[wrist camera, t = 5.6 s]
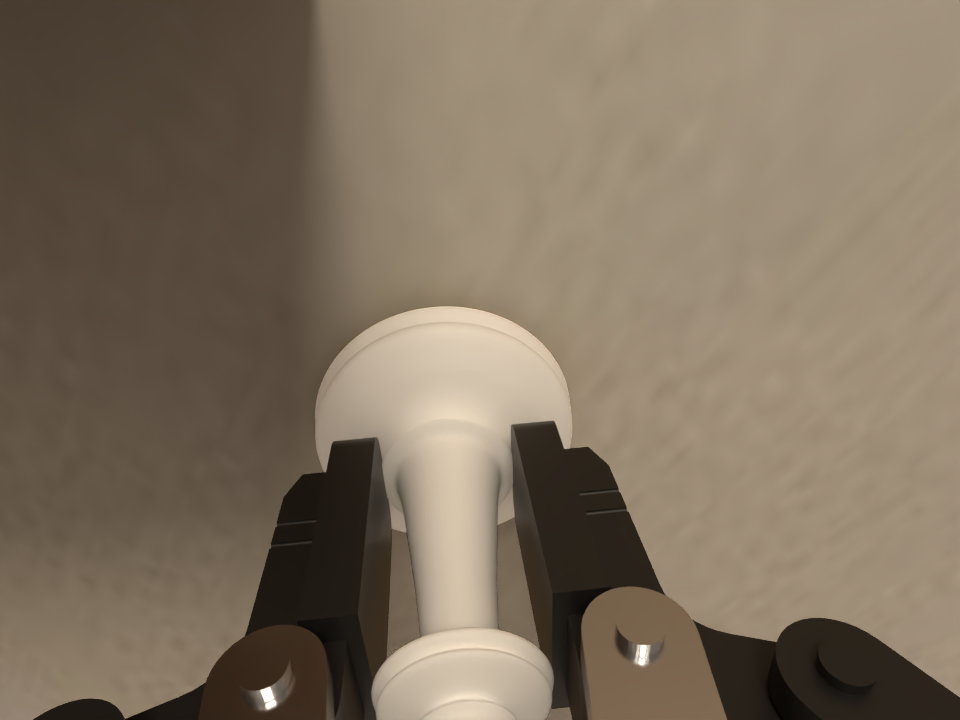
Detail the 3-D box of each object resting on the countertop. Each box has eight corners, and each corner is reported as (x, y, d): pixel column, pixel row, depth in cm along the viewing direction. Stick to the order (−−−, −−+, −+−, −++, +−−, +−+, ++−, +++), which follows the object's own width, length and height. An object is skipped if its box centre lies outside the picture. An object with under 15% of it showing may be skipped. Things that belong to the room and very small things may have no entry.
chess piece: (599, 466, 13) (973, 1382, 4) (386, 545, 14) (331, 1501, 5) (518, 261, 11) (984, 1381, 2) (265, 367, 11) (-277, 1610, 2)
